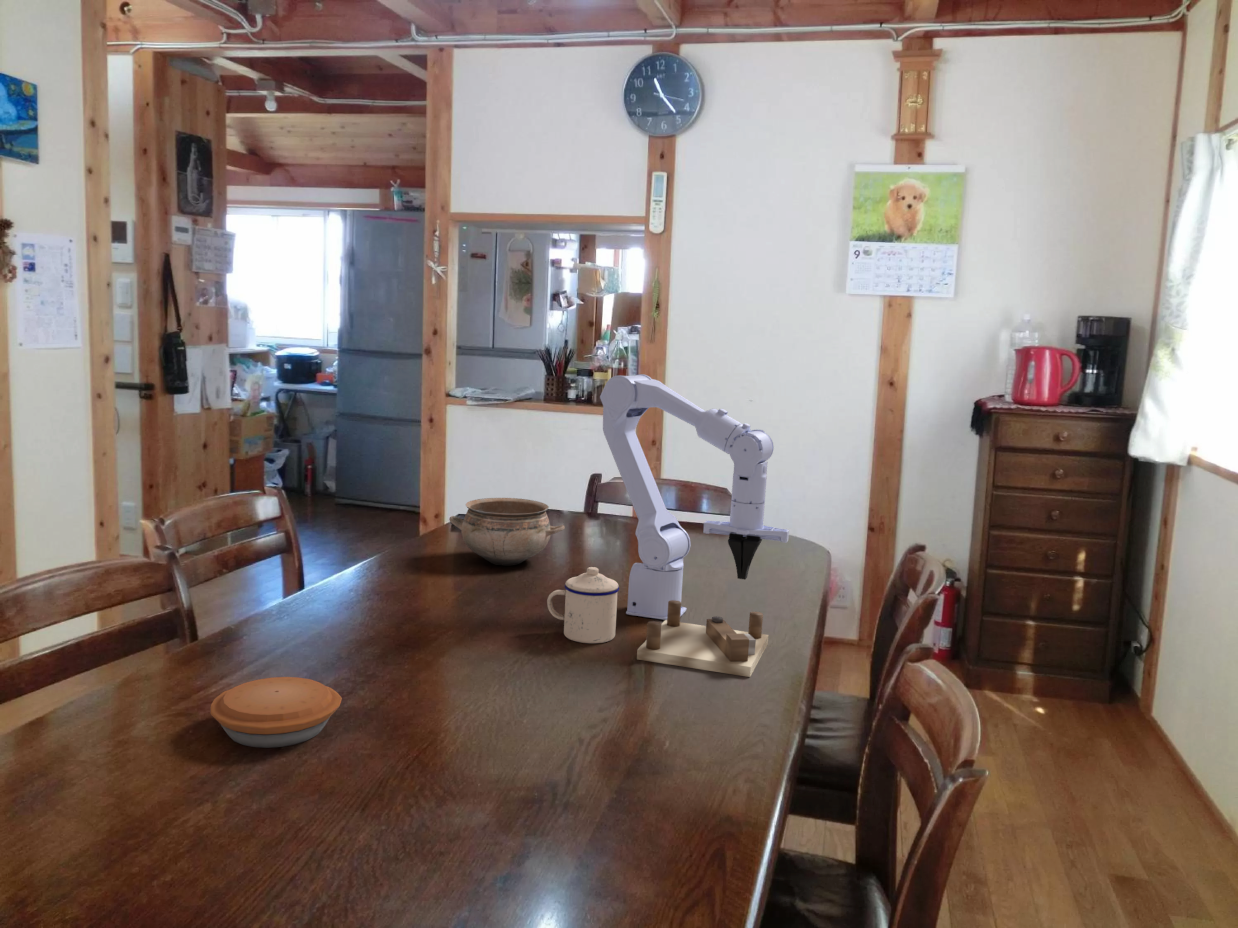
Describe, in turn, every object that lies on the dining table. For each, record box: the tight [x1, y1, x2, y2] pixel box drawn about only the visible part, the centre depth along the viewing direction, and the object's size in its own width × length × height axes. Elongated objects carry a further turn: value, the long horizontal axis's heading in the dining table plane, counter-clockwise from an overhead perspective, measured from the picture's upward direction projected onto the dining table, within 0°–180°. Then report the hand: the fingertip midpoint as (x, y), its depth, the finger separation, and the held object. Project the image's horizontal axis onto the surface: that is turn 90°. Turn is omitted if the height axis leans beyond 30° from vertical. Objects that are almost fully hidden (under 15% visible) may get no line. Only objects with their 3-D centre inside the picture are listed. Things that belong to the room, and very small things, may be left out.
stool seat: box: [636, 600, 770, 678], centre depth 163 cm, size 18×17×6 cm
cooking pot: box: [448, 497, 566, 566], centre depth 214 cm, size 25×19×12 cm
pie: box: [210, 676, 343, 749], centre depth 126 cm, size 16×16×5 cm
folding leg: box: [705, 615, 749, 661], centre depth 161 cm, size 14×3×4 cm, turn 11°
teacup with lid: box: [546, 566, 620, 644], centre depth 168 cm, size 12×9×12 cm
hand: (742, 577), depth 175 cm, fingers closed
